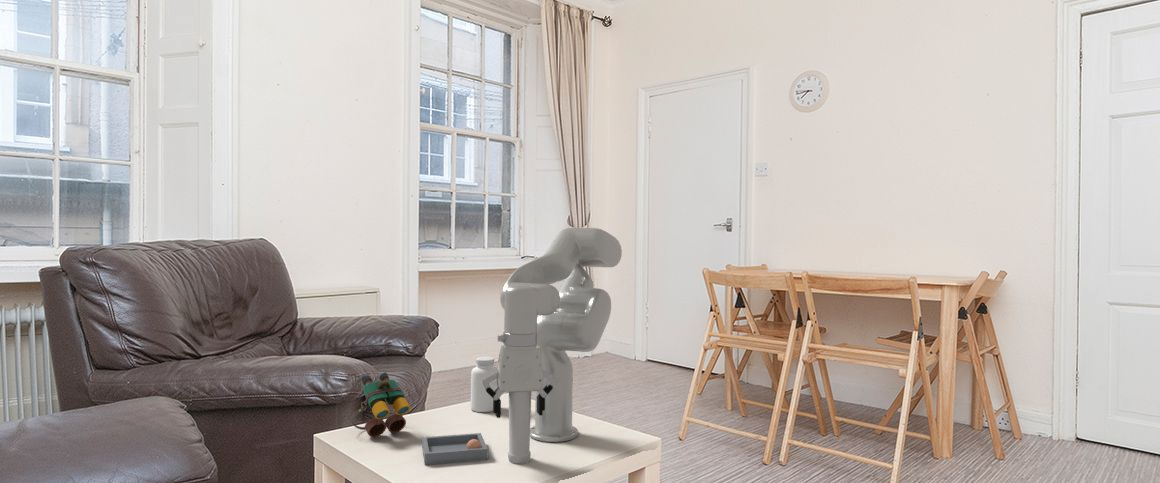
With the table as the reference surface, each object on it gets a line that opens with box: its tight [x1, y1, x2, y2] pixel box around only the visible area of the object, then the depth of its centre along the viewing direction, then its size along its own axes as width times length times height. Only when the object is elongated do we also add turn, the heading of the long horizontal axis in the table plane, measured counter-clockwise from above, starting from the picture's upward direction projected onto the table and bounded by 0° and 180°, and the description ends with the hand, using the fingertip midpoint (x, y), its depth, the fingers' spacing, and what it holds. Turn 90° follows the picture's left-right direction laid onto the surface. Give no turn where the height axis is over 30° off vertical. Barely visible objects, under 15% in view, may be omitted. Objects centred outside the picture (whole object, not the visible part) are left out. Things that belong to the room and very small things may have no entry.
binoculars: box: [350, 372, 411, 438], centre depth 169 cm, size 14×14×15 cm
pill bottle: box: [470, 356, 498, 413], centre depth 191 cm, size 8×8×15 cm
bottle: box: [507, 391, 532, 465], centre depth 149 cm, size 5×5×25 cm
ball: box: [467, 439, 481, 449], centre depth 151 cm, size 3×3×3 cm
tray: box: [421, 432, 489, 466], centre depth 153 cm, size 12×14×2 cm
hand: (518, 415), depth 149 cm, fingers open, 9 cm apart
